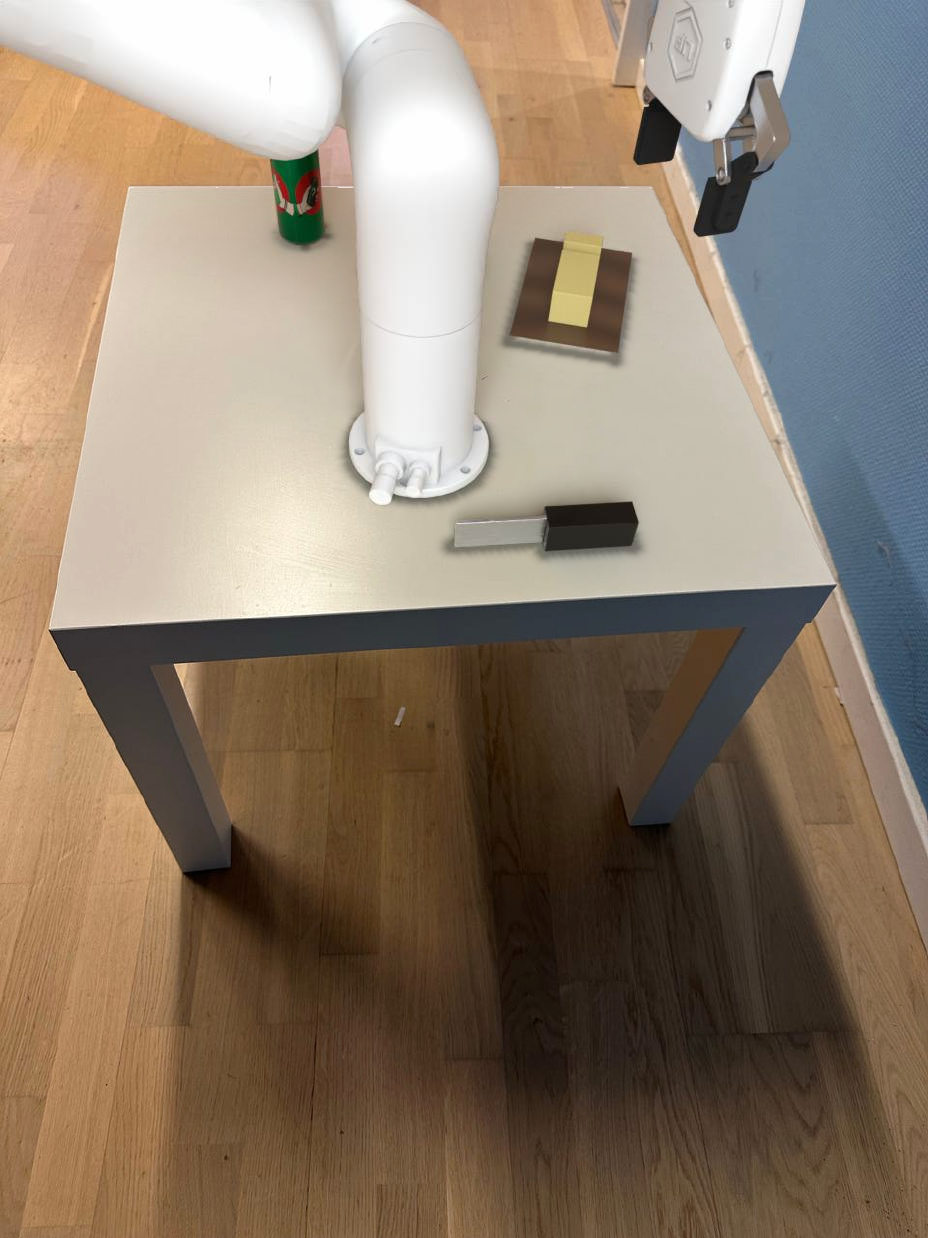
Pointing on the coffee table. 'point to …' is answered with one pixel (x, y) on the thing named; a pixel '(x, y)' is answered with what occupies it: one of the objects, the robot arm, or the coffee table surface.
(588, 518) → the knife
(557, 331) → the board
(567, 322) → the butter block
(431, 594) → the coffee table surface
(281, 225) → the soda can
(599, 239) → the butter pat
